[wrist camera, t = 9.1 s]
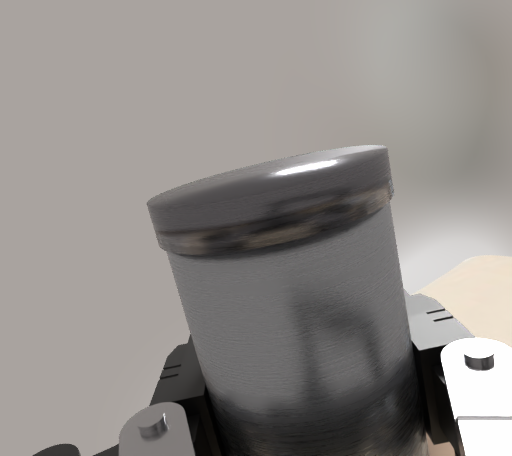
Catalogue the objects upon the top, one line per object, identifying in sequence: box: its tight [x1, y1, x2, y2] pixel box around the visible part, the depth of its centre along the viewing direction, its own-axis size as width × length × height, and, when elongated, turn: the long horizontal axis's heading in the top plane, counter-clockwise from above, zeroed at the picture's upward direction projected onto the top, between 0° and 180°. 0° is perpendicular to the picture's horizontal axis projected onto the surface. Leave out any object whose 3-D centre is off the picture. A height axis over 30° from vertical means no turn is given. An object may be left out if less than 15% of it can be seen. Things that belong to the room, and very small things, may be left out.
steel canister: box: [147, 145, 430, 456], centre depth 9 cm, size 5×5×12 cm
